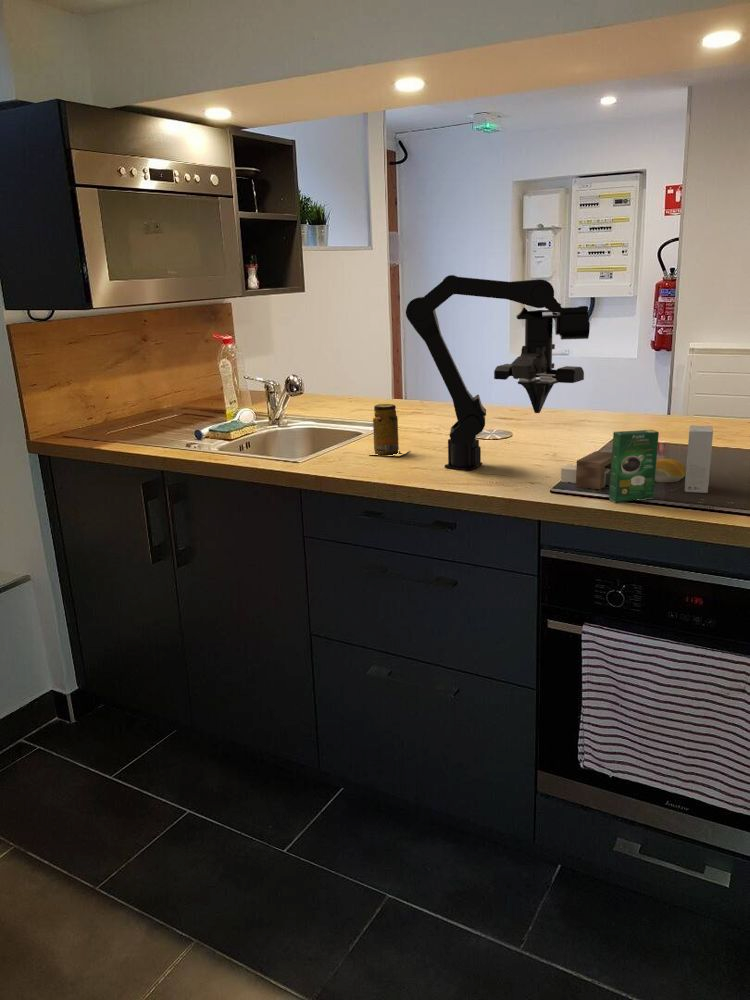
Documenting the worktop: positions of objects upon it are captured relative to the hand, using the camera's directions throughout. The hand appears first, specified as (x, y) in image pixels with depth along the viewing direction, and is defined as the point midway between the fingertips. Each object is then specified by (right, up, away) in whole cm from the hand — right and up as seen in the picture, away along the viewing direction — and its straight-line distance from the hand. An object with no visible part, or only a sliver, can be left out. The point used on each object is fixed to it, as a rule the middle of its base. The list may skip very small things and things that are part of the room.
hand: (537, 412), depth 171 cm
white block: (+9, -16, -11) cm, 21 cm away
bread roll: (+24, -15, -10) cm, 30 cm away
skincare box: (+27, -17, -19) cm, 37 cm away
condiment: (-32, -8, +22) cm, 39 cm away
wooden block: (+10, -16, -12) cm, 22 cm away
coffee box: (+13, -19, -24) cm, 33 cm away
